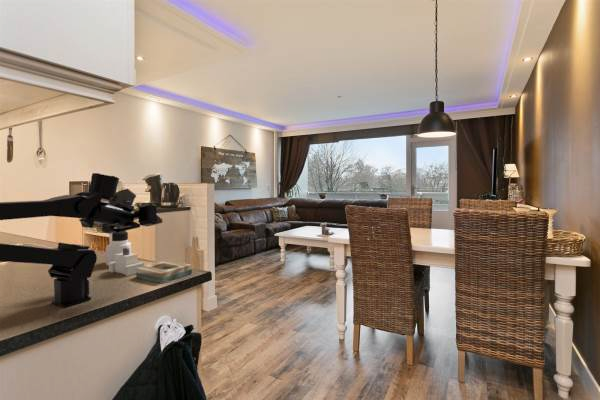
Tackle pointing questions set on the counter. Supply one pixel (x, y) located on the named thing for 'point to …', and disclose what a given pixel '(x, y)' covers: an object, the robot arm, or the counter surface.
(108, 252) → the medicine bottle
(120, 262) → the plug
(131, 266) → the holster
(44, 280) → the counter surface
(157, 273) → the port block
